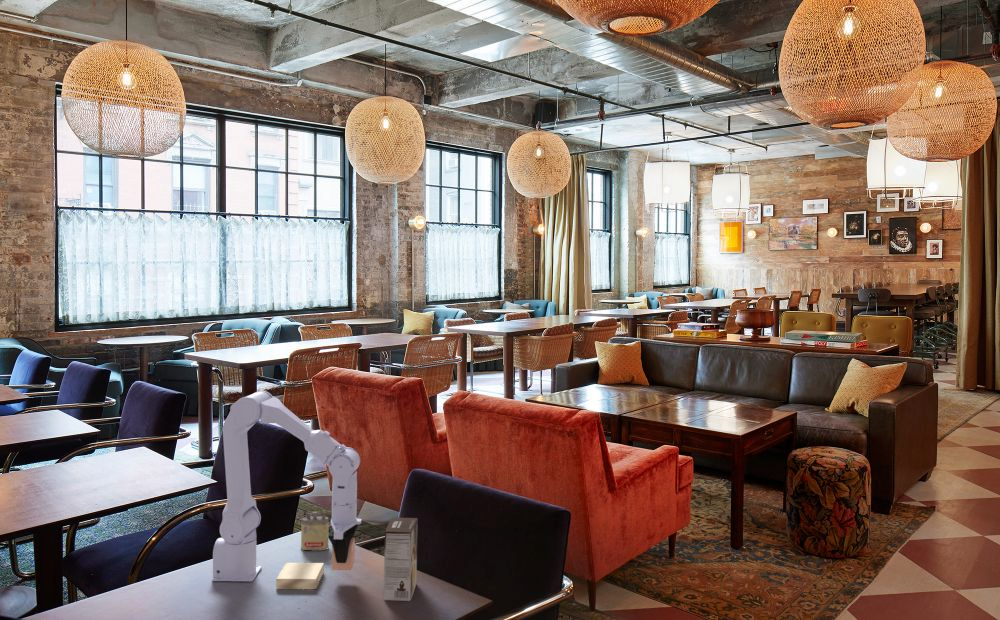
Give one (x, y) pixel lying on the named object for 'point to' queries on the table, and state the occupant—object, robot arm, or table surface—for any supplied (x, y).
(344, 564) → the terracotta block
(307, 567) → the birch block
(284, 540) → the table surface
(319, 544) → the yellow package
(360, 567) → the table surface
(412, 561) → the coffee box
